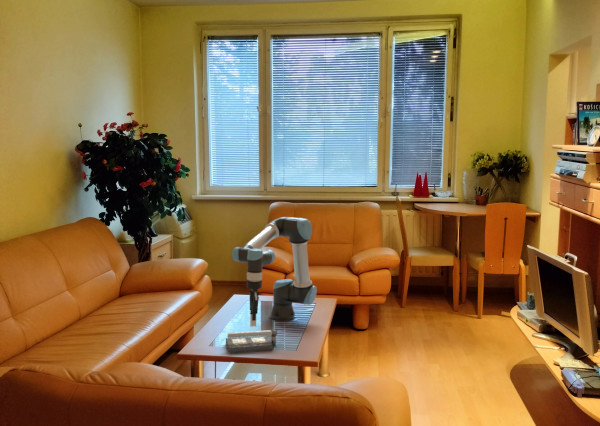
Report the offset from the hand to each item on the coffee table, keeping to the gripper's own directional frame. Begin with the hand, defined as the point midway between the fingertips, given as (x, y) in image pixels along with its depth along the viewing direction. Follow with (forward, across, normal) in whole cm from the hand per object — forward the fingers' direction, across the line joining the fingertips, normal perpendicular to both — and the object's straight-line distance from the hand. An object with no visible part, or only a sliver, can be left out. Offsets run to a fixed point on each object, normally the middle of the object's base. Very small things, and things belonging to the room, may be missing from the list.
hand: (253, 325), depth 270 cm
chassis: (+13, -6, +1) cm, 15 cm away
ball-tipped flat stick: (+7, -6, +1) cm, 10 cm away
